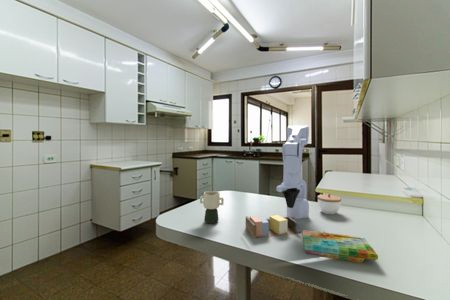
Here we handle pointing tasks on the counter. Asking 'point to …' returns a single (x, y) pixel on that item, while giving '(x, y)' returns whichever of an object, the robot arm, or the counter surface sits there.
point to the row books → (261, 226)
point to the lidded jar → (329, 203)
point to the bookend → (293, 225)
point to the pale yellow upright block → (278, 224)
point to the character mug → (211, 205)
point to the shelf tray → (252, 229)
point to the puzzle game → (338, 246)
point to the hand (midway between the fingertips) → (290, 207)
